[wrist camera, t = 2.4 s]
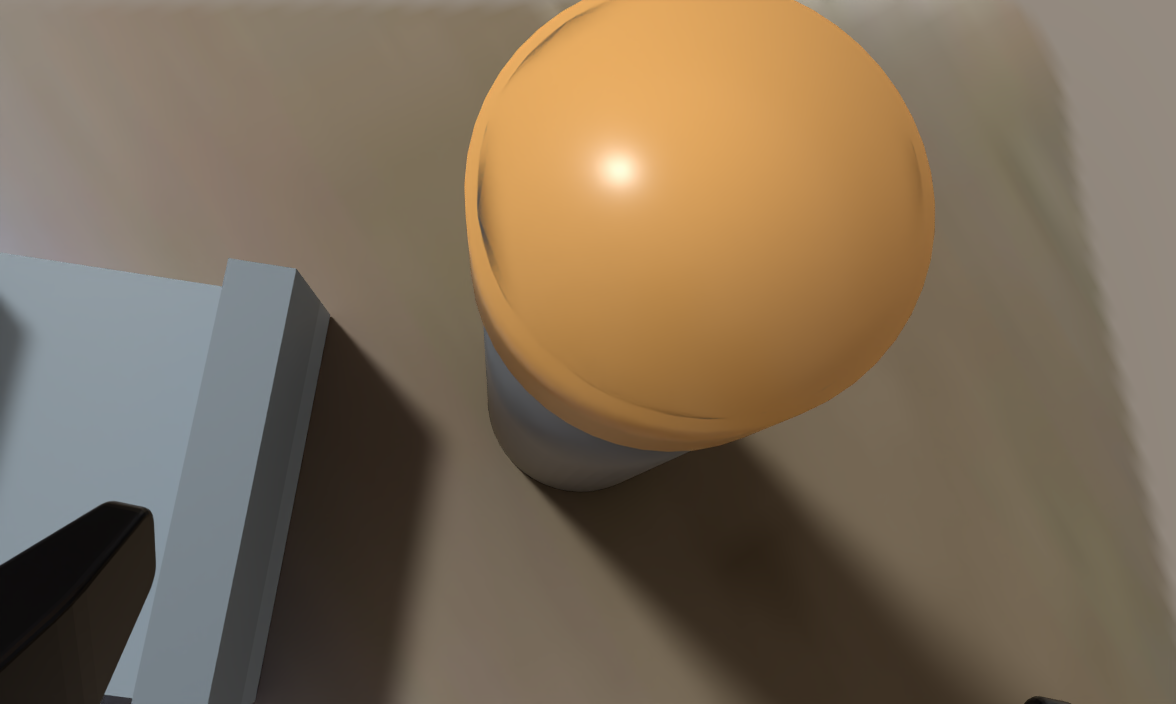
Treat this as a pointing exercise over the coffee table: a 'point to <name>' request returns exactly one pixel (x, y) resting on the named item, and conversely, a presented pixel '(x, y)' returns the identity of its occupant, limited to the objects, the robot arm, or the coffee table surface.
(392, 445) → the coffee table surface
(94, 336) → the grey divided tray
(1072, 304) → the coffee table surface
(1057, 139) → the coffee table surface
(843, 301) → the grey cylinder
